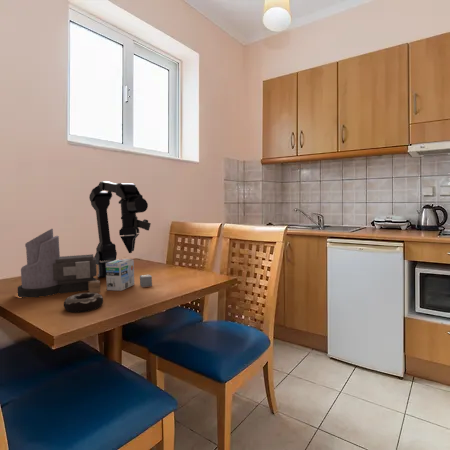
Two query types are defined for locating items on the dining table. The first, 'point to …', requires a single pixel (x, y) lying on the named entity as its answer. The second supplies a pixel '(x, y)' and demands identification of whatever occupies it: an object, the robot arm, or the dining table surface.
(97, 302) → the donut
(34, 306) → the dining table surface
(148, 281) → the grey marked block
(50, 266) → the grey boxy piece
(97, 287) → the walnut marked block
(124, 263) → the light bulb box
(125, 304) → the dining table surface
